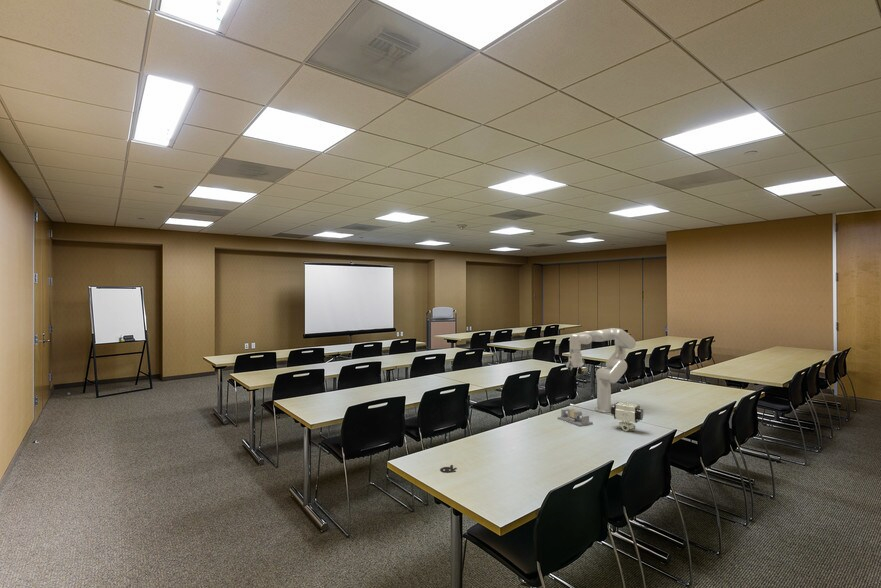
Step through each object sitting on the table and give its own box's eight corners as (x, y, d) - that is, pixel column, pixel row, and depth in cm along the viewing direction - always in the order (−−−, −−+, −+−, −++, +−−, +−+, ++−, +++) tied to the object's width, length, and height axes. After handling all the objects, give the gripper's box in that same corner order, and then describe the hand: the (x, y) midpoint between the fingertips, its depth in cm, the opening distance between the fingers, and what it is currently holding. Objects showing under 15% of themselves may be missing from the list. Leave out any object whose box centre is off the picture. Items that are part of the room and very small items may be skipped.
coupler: (582, 420, 284) (582, 412, 284) (576, 421, 282) (576, 412, 282) (573, 417, 291) (573, 409, 291) (567, 418, 289) (567, 410, 289)
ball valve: (609, 428, 271) (610, 401, 271) (614, 425, 278) (614, 398, 278) (639, 434, 260) (640, 405, 260) (643, 431, 266) (643, 403, 266)
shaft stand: (557, 418, 292) (557, 410, 292) (570, 416, 298) (570, 407, 298) (580, 426, 275) (580, 417, 275) (592, 424, 281) (592, 415, 281)
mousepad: (449, 465, 212) (449, 464, 212) (461, 469, 207) (461, 468, 207) (437, 471, 205) (437, 469, 205) (450, 475, 200) (450, 474, 200)
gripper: (570, 352, 298) (570, 376, 298) (587, 351, 307) (587, 374, 307) (562, 351, 305) (562, 375, 305) (579, 349, 314) (579, 372, 314)
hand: (575, 374), depth 306 cm, fingers open, 9 cm apart
